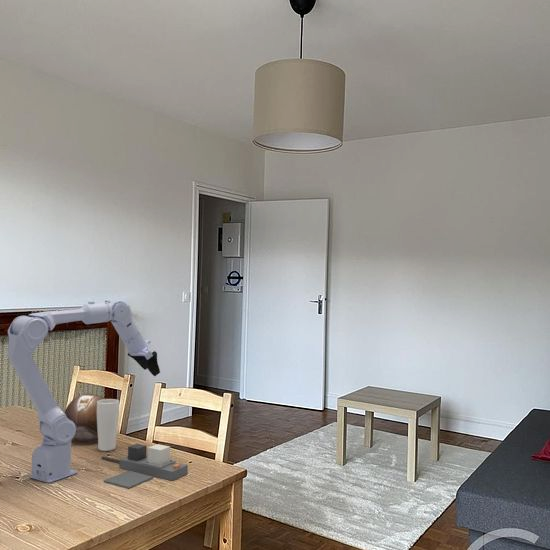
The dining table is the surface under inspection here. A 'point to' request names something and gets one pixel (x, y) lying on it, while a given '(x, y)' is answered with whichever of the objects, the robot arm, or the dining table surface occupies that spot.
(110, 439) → the drinking glass
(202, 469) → the dining table surface
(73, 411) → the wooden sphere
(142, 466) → the power strip
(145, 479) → the felt mat
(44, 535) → the dining table surface
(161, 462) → the block
